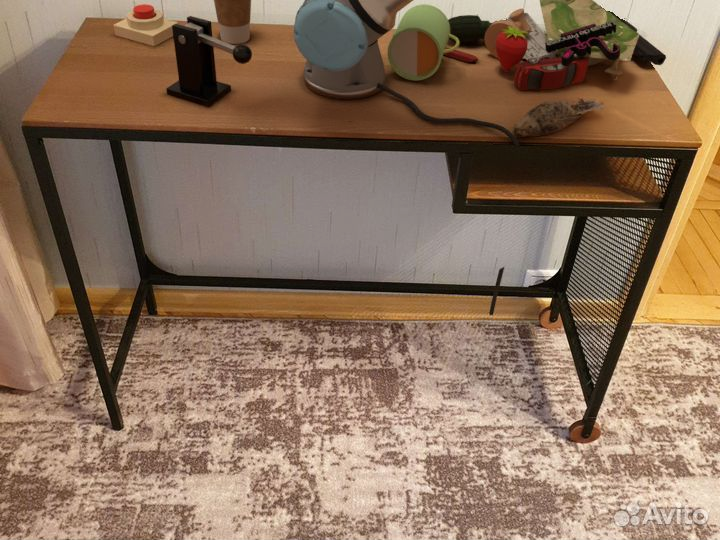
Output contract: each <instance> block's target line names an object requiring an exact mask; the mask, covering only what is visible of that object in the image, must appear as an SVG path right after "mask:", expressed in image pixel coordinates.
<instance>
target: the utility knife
mask: <svg viewBox="0 0 720 540" xmlns="http://www.w3.org/2000/svg"><path fill="white" fill-rule="evenodd" d="M450 48H451V47H447V46H446V48H445V50H446V49H450ZM443 56H446V57H449V58H453V59H455V60H460V61H463V62H466V63H472V62H478V61H479V58H478V57H477V56H476V55H474V54H472V53H467V52H465V51H461V50H458V49H455V50H453V51H451V52H448V53H444V54H443Z"/></svg>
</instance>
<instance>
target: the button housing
mask: <svg viewBox="0 0 720 540" xmlns="http://www.w3.org/2000/svg"><path fill="white" fill-rule="evenodd" d="M154 12H155V17H153V18H151V19H137V18H135V17H134V10H133V9H132V10H131V11H128V12H127V14H126V18H125V19H122V20H121V21H119V22H116V23H114V24H113V25H112V26H113V31H114V36H115V37H120V38H122V39H123V38H124V39H127V40H130V41H134V42H138V43H141V44H143V45H144V44H145V45H147V46H151V47H156V46H158V45H161V44H162V43H164V42H165V41H167V40H169V39H171V38H172V37H173V30H172V25H174V24H179V22H178V21H174V20H172V19H171V20H170V19H167V18H164V13H162V11H161V10H159V9H155V8H154Z"/></svg>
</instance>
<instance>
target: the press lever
mask: <svg viewBox="0 0 720 540" xmlns="http://www.w3.org/2000/svg"><path fill="white" fill-rule="evenodd" d="M183 26H186V27H190V28H194V29H197V35H198V43H200V42H204V43H206V44H208V45H211V46H213V47H214V48H216V49H218V50H221V51H223V52H226V53H228V54H231V55H232V57H233V59H234V61H235V62H236V63H238V64H242V65H244V64H247V63H249V62H250V61H251V59H252V57H253V52H252V49H251V47H250V46H249V45H248V44H246V43H240V44H235V45H234V44H230V43H226V42H224V41H222V40H221V39H218V38H216V37H213V36H212V37H211V36H208V35H206V34H203V27H200V26H198V25H195V24H193V23H188V24H187V23H186V24H184V25H183Z"/></svg>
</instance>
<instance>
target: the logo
mask: <svg viewBox="0 0 720 540" xmlns="http://www.w3.org/2000/svg"><path fill="white" fill-rule="evenodd" d="M612 31H613V32H614V33H615V32H616V23H615V22H613V21H610V22H609V23H606V25H605V24H601V26H600V25H598V26H596V24H591V25H588V26H585V27H582V28H579V29H576V30H572V31H570V32H566V33H563V34H561V38H559V39H555V40H551V41H548V42H546V51H547V52H548V53H551V52H552V51H556V50H560V49H563V48H565V47H567V48H566V49H565V51H564V55H561V57H562V59H561V64H562V65H563V66H568V65H569V64H571V63H572V62H573V60H574V54H576V55H577V56H580V57H583V56H585V55H586V54H587V53H588V54H589V55H591V47H592V46H597V47H599V49H600V50H601V51H602V53H603V54H604V55H605V57H606V58H607V59H606V60H609V61H612V60H617V59H618V58H619V57H620V46H619V45H617V44H613V51H611V50H609V49H608V47H607V46H606V45H605V43H604V42H603V41H602V39H600V38H598V37H599V36H606V34H612ZM590 37H591V38H590ZM584 41H585V42H584ZM581 42H582V43H581ZM569 46H570V47H569Z"/></svg>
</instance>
